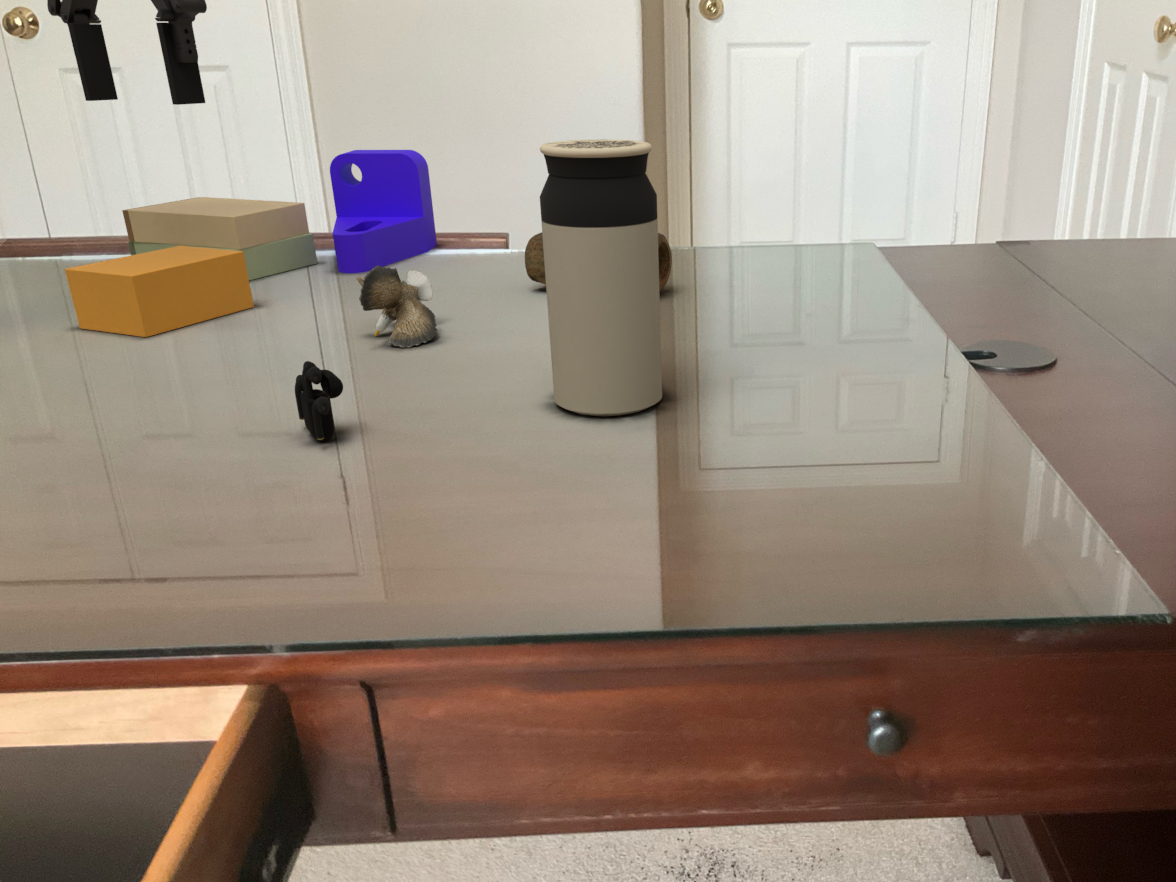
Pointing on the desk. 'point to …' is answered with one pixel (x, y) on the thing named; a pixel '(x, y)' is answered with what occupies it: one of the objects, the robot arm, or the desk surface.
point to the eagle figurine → (399, 304)
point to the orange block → (159, 290)
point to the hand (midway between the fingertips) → (144, 102)
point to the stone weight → (537, 265)
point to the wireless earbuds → (317, 400)
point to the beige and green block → (227, 231)
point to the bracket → (381, 208)
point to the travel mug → (602, 276)
